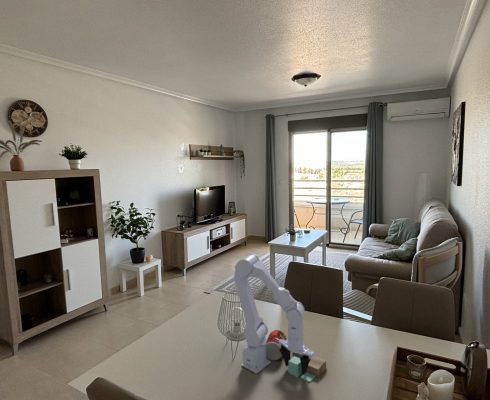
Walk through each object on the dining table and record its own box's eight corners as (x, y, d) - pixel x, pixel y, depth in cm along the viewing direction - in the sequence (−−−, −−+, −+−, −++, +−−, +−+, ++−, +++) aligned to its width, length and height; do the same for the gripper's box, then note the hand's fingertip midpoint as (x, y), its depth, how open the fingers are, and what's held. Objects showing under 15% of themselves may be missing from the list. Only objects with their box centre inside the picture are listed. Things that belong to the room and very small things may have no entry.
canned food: (289, 344, 138) (284, 358, 128) (272, 347, 141) (267, 362, 131) (283, 327, 138) (278, 340, 128) (266, 331, 141) (260, 344, 131)
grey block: (300, 366, 125) (300, 354, 125) (292, 362, 128) (292, 350, 128) (306, 361, 128) (306, 350, 128) (297, 357, 131) (297, 346, 131)
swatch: (309, 382, 116) (309, 381, 116) (300, 377, 119) (300, 376, 119) (315, 376, 119) (315, 375, 119) (306, 372, 122) (306, 371, 122)
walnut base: (318, 378, 119) (318, 369, 118) (301, 370, 123) (301, 362, 123) (326, 368, 124) (326, 360, 124) (310, 362, 128) (310, 354, 128)
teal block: (297, 377, 119) (297, 365, 118) (288, 373, 122) (288, 360, 121) (303, 372, 122) (303, 360, 121) (294, 368, 125) (294, 356, 124)
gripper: (317, 337, 118) (317, 371, 120) (285, 325, 128) (286, 357, 129) (308, 345, 113) (308, 381, 115) (275, 332, 123) (275, 365, 124)
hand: (295, 369), depth 122 cm, fingers open, 7 cm apart
